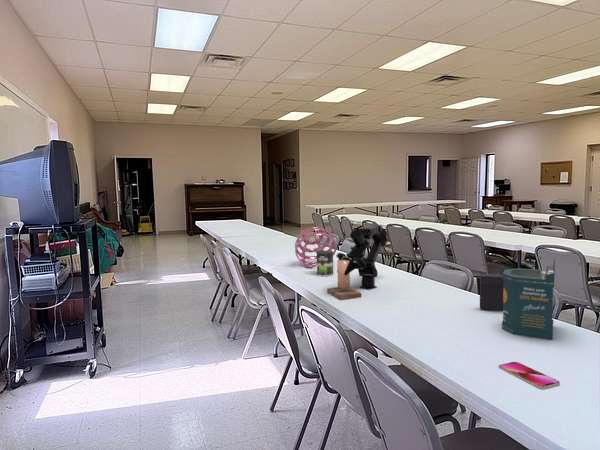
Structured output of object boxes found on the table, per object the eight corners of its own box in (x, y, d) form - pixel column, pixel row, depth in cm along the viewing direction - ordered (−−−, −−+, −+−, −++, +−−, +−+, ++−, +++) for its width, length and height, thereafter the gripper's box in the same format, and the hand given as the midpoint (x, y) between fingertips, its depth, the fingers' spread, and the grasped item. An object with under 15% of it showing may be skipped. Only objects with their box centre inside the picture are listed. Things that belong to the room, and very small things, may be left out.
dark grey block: (507, 309, 175) (508, 274, 173) (509, 312, 171) (509, 277, 169) (479, 307, 179) (479, 273, 177) (480, 310, 175) (480, 275, 173)
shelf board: (327, 292, 212) (327, 288, 212) (346, 289, 216) (346, 286, 215) (340, 300, 197) (340, 296, 197) (361, 297, 201) (361, 293, 201)
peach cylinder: (340, 284, 210) (339, 259, 209) (351, 285, 207) (350, 259, 206) (336, 287, 205) (335, 261, 203) (347, 288, 202) (347, 262, 201)
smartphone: (515, 361, 125) (562, 382, 111) (515, 364, 125) (561, 385, 111) (496, 365, 122) (541, 387, 108) (496, 368, 123) (541, 391, 108)
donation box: (552, 340, 141) (554, 259, 138) (500, 332, 149) (501, 256, 147) (553, 325, 154) (555, 251, 152) (505, 319, 163) (506, 249, 160)
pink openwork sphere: (336, 241, 257) (327, 214, 277) (293, 253, 258) (287, 225, 279) (343, 270, 275) (335, 243, 296) (303, 281, 276) (297, 253, 297)
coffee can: (330, 276, 247) (330, 253, 245) (314, 275, 250) (313, 253, 249) (335, 273, 256) (335, 250, 255) (320, 272, 260) (319, 250, 258)
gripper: (379, 261, 204) (362, 287, 200) (357, 256, 220) (340, 279, 216) (366, 247, 199) (348, 273, 195) (344, 243, 216) (327, 266, 212)
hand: (341, 273), depth 205 cm, fingers closed on peach cylinder, 6 cm apart
